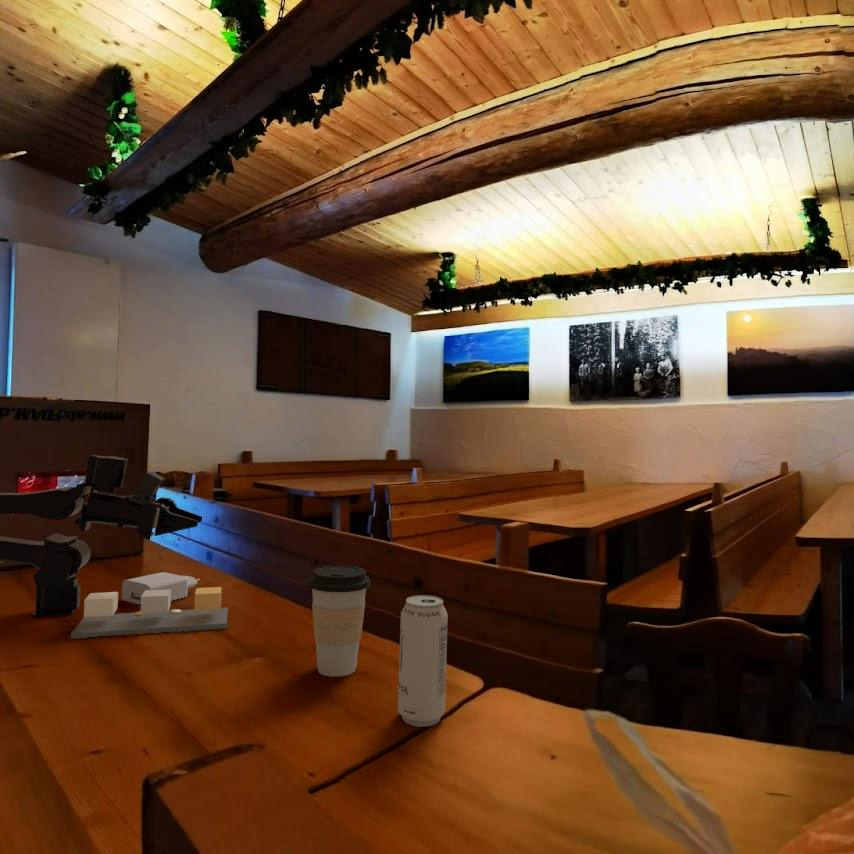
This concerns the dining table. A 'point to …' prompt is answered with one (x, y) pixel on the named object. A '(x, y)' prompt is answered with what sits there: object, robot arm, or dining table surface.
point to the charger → (157, 586)
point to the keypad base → (151, 623)
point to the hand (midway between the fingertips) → (199, 521)
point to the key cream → (101, 604)
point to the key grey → (155, 601)
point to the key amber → (207, 598)
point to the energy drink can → (422, 660)
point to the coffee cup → (338, 617)
